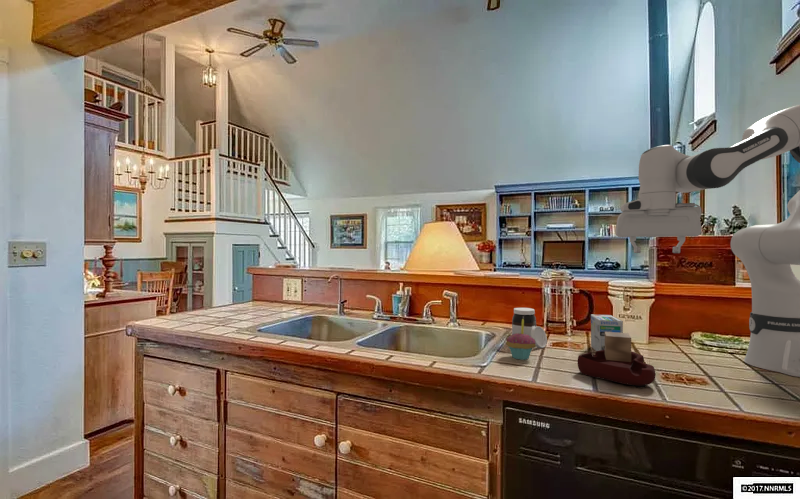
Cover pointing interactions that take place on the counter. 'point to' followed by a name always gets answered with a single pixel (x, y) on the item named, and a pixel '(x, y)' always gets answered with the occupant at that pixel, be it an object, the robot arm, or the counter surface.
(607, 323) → the light bulb box
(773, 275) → the robot arm
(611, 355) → the grey-brown cube
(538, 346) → the spread jar
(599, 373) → the ashtray
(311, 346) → the counter surface
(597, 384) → the counter surface
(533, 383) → the counter surface
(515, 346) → the cupcake
